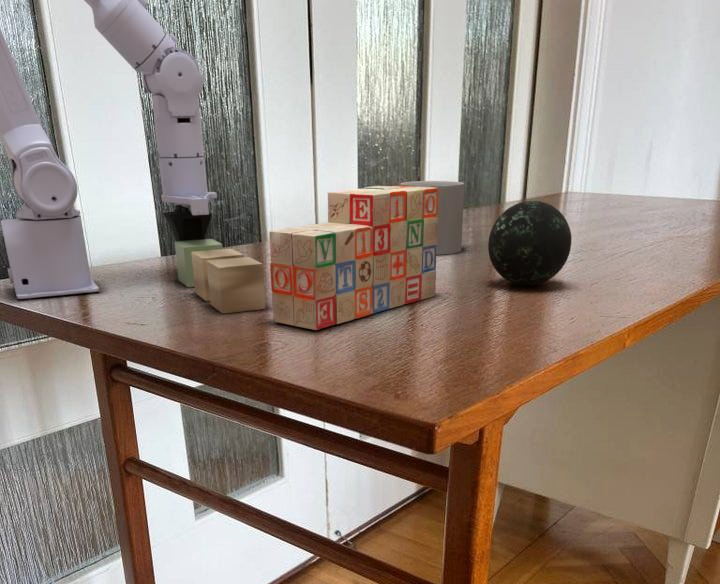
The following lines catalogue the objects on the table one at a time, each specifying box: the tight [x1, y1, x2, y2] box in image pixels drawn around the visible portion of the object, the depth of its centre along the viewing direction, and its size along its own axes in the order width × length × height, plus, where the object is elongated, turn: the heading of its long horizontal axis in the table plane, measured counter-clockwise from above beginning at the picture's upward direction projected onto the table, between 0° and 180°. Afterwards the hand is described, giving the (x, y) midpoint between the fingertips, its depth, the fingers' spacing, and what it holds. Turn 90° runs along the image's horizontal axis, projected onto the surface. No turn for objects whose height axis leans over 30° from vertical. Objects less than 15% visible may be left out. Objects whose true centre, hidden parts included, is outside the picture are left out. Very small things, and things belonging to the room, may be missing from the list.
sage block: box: [174, 238, 224, 288], centre depth 98 cm, size 5×5×5 cm
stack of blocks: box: [268, 185, 439, 331], centre depth 82 cm, size 21×6×12 cm, turn 141°
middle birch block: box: [191, 248, 245, 302], centre depth 90 cm, size 5×5×5 cm
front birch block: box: [206, 256, 266, 315], centre depth 85 cm, size 5×5×5 cm
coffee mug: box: [399, 180, 465, 256], centre depth 120 cm, size 13×10×10 cm
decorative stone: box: [487, 200, 572, 287], centre depth 93 cm, size 10×10×10 cm
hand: (193, 266), depth 102 cm, fingers closed
